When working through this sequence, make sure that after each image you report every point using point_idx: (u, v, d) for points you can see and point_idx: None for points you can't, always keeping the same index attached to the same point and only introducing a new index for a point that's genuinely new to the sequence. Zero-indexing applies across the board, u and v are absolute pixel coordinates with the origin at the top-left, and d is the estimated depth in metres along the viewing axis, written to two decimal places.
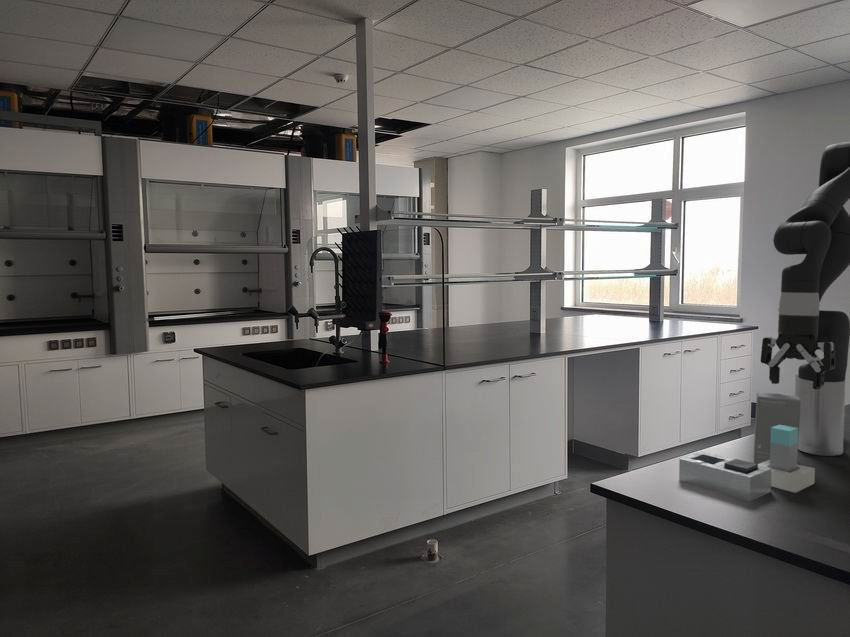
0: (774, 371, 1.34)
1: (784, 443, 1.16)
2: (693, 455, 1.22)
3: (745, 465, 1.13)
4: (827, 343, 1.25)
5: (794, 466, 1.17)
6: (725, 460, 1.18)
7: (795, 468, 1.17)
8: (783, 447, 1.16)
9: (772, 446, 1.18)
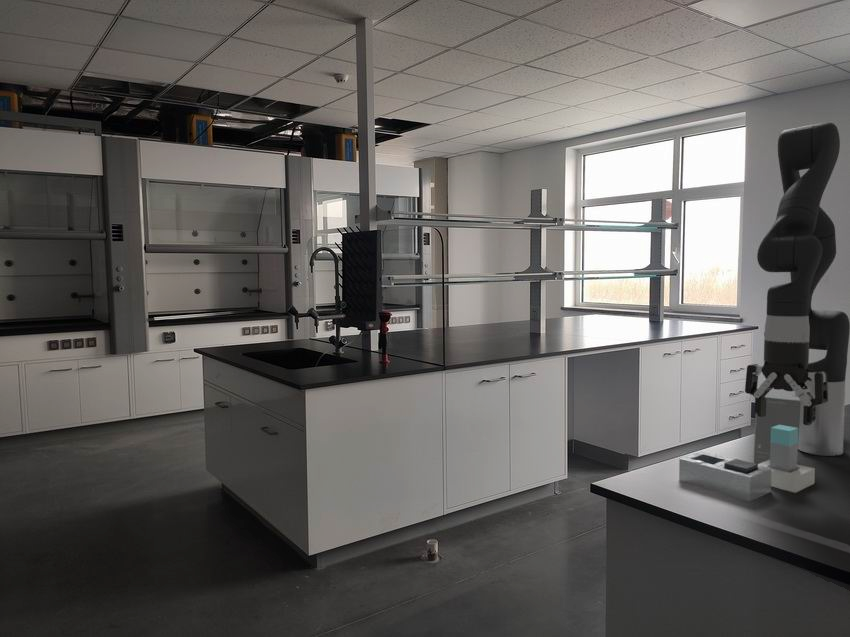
0: (760, 403, 1.20)
1: (784, 443, 1.16)
2: (693, 455, 1.22)
3: (745, 465, 1.13)
4: (818, 374, 1.10)
5: (794, 466, 1.17)
6: (725, 460, 1.18)
7: (795, 468, 1.17)
8: (783, 447, 1.16)
9: (772, 446, 1.18)
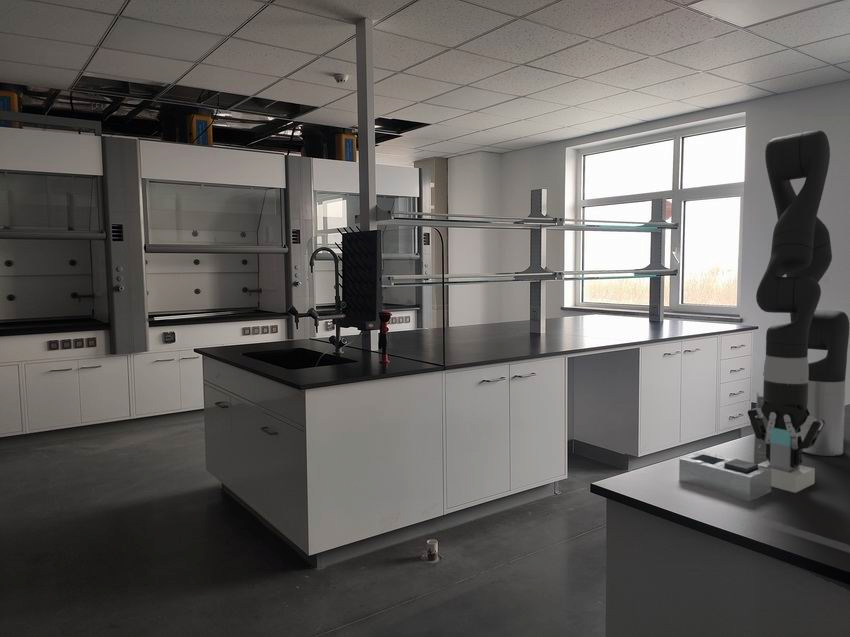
0: None
1: (784, 443, 1.16)
2: (693, 455, 1.22)
3: (745, 465, 1.13)
4: (817, 423, 1.11)
5: None
6: (725, 460, 1.18)
7: (795, 468, 1.17)
8: (783, 447, 1.16)
9: (772, 446, 1.18)
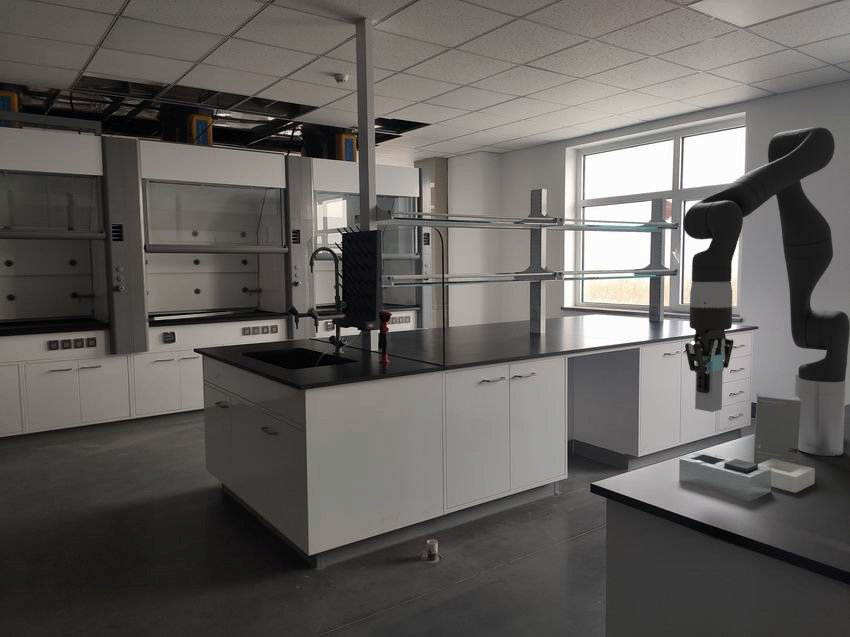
0: None
1: None
2: (693, 455, 1.22)
3: (745, 465, 1.13)
4: (685, 344, 1.15)
5: (707, 394, 1.16)
6: (725, 460, 1.18)
7: (708, 396, 1.16)
8: None
9: None
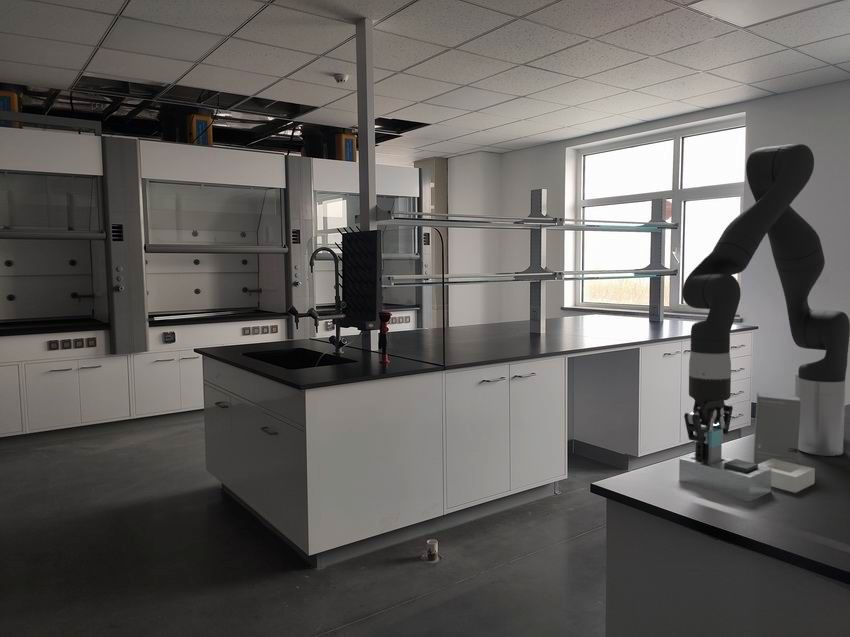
0: None
1: None
2: (693, 455, 1.22)
3: (745, 465, 1.13)
4: (685, 414, 1.16)
5: None
6: (725, 460, 1.18)
7: None
8: None
9: None
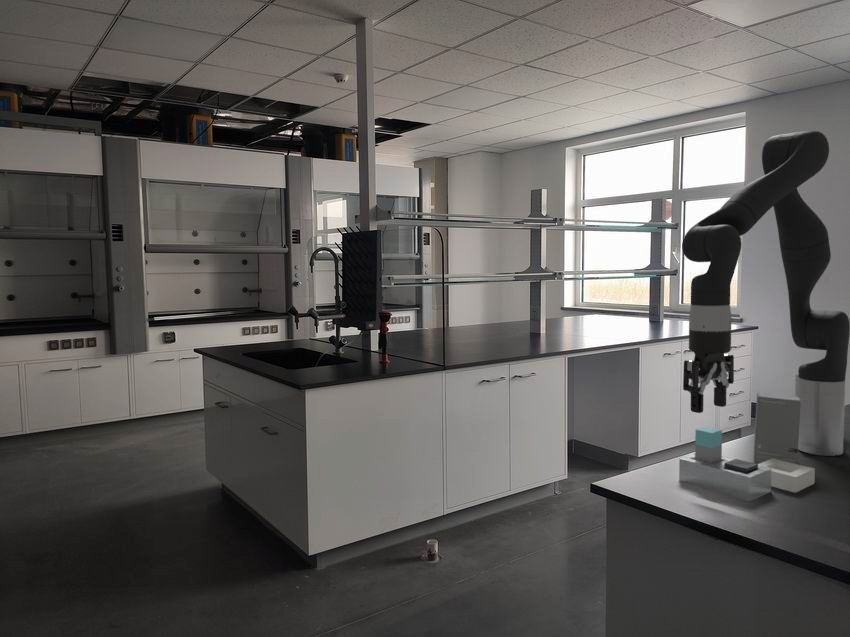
0: (714, 391, 1.21)
1: None
2: (693, 455, 1.22)
3: (745, 465, 1.13)
4: (685, 361, 1.15)
5: None
6: (725, 460, 1.18)
7: None
8: None
9: None
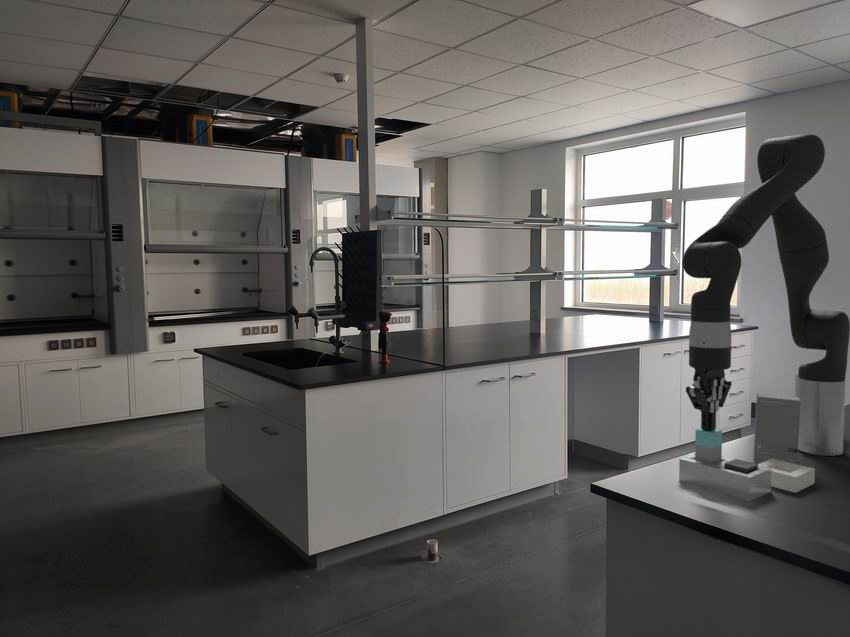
0: None
1: None
2: (693, 455, 1.22)
3: (745, 465, 1.13)
4: (686, 388, 1.16)
5: None
6: (725, 460, 1.18)
7: None
8: None
9: None
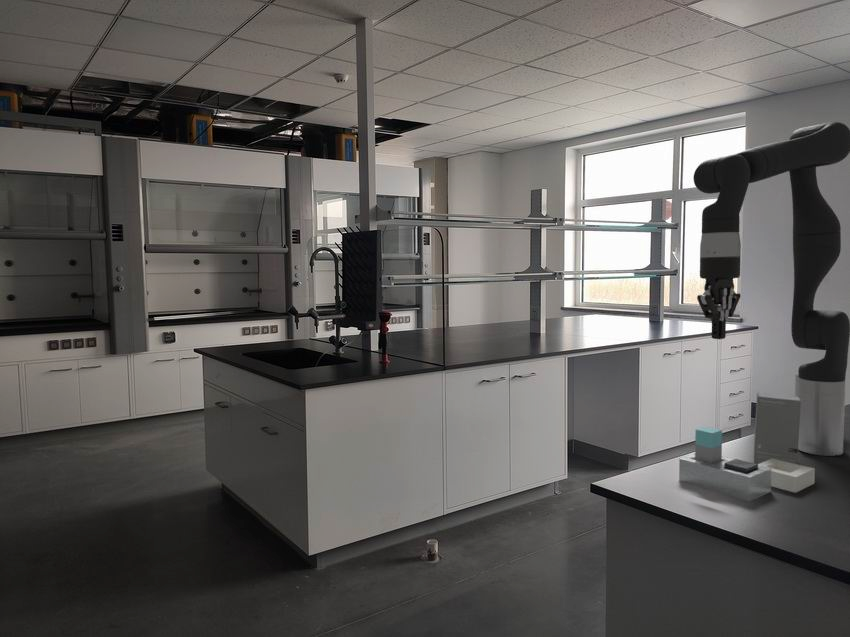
0: None
1: None
2: (693, 455, 1.22)
3: (745, 465, 1.13)
4: None
5: None
6: (725, 460, 1.18)
7: None
8: None
9: None
